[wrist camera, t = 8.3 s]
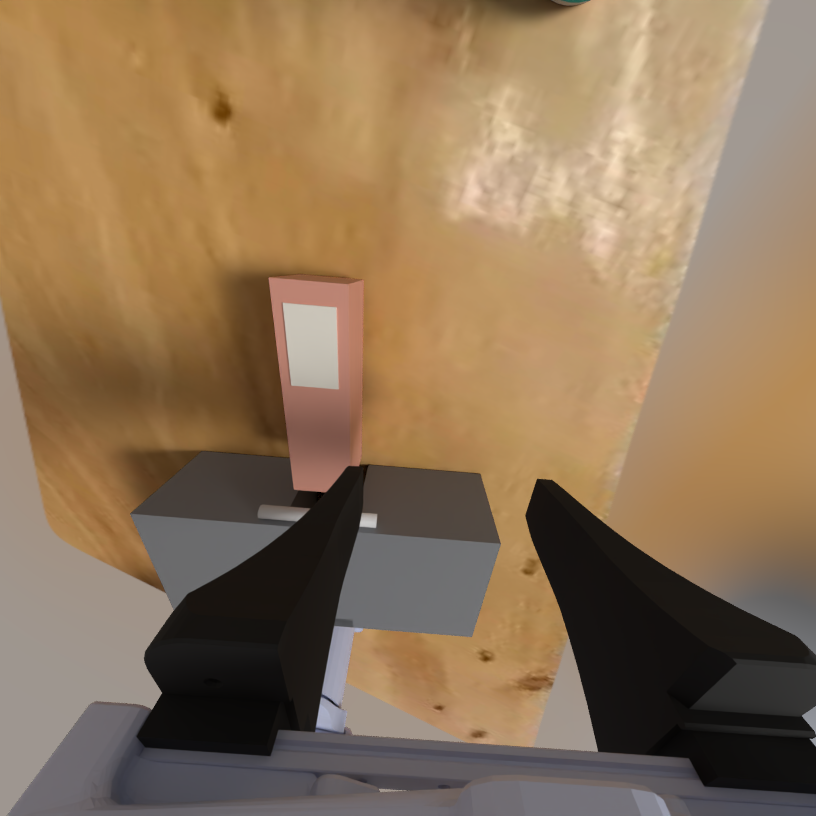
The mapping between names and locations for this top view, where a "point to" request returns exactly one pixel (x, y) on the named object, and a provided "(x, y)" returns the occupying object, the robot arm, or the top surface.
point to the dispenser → (373, 550)
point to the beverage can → (570, 2)
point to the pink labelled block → (320, 373)
